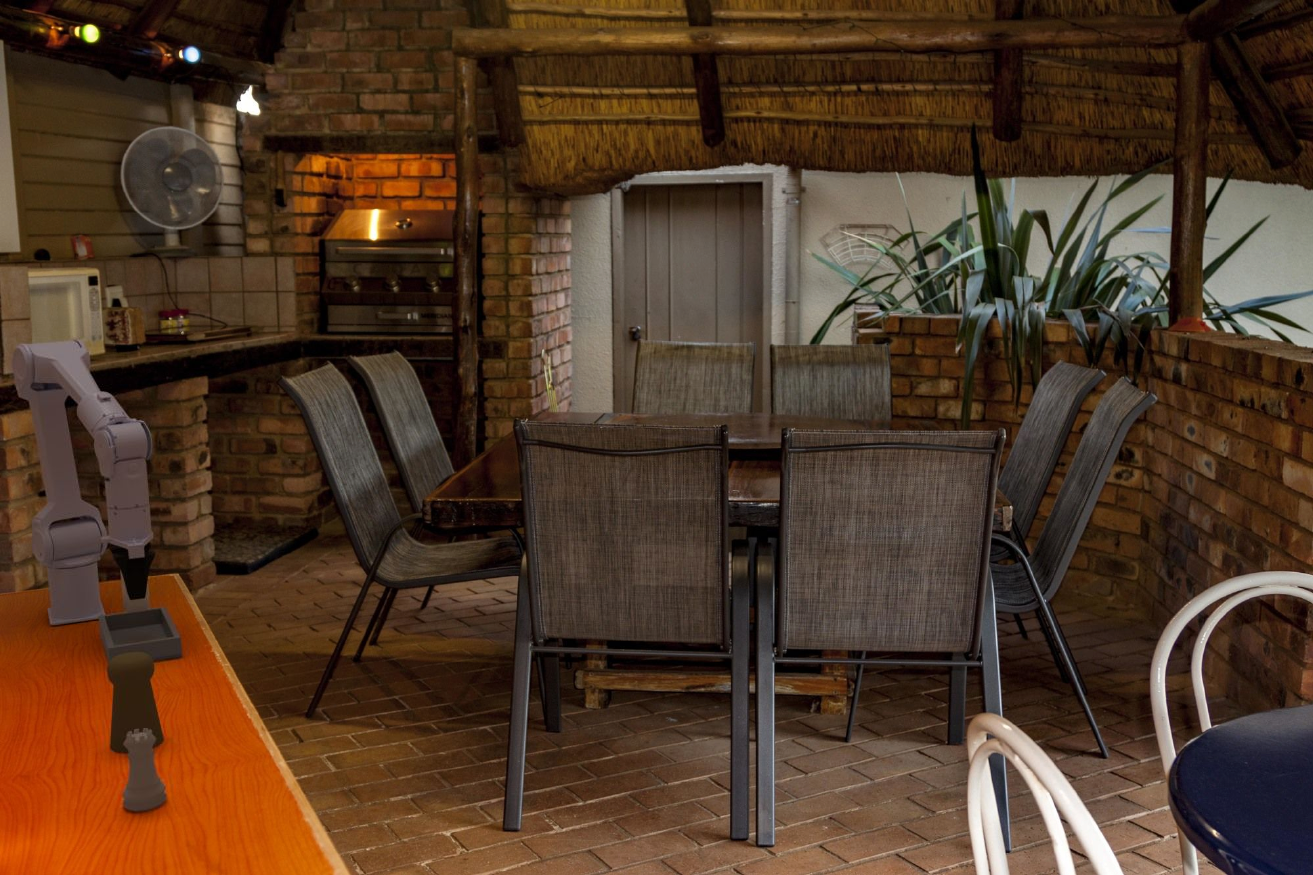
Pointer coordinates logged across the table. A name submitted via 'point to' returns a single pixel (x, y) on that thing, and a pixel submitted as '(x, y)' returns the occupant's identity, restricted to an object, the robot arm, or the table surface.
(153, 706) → the cork
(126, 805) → the rook chess piece
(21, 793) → the table surface
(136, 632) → the trough
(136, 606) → the cell
